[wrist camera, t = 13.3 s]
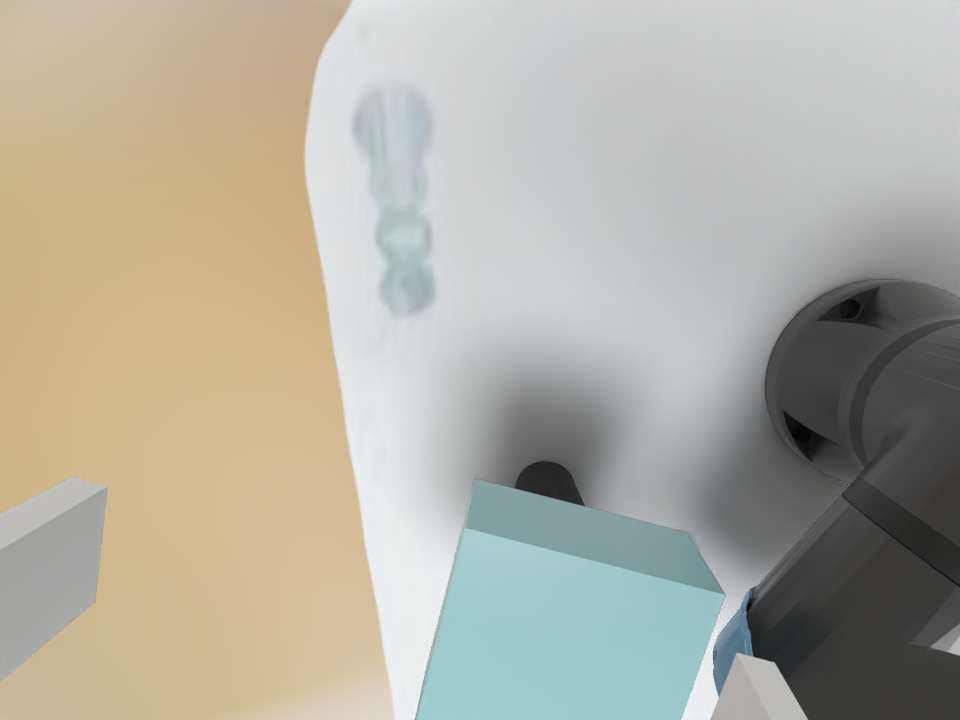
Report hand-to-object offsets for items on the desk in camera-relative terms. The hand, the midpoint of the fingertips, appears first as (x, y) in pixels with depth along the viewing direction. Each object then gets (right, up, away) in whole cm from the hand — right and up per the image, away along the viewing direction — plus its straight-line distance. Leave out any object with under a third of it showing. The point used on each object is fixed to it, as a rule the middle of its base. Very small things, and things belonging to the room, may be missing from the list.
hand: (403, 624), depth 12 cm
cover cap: (+6, -8, +21) cm, 24 cm away
